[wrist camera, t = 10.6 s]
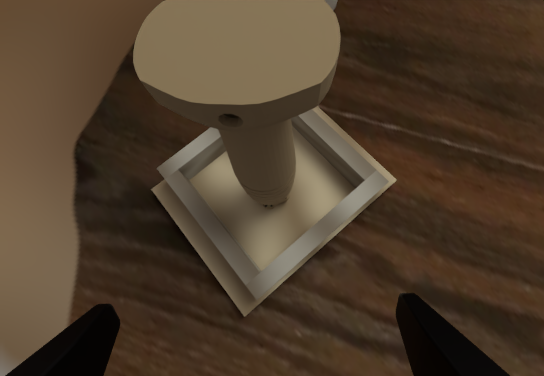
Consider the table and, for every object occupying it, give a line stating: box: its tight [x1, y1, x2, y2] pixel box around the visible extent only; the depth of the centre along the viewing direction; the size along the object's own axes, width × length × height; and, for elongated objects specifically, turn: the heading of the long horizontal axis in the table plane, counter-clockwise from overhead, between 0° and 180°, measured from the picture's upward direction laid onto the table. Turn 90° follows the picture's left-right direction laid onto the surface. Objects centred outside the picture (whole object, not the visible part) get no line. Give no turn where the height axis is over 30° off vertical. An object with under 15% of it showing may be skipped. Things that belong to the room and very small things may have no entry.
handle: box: [133, 0, 341, 209], centre depth 15 cm, size 5×6×15 cm
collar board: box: [151, 106, 396, 317], centre depth 22 cm, size 16×13×4 cm
